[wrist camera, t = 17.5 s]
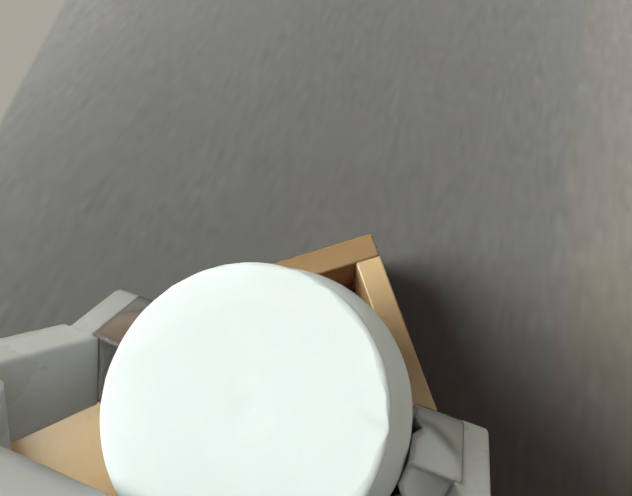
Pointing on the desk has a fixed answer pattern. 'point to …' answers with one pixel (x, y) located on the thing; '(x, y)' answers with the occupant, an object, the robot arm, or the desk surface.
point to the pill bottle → (256, 391)
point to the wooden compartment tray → (332, 262)
